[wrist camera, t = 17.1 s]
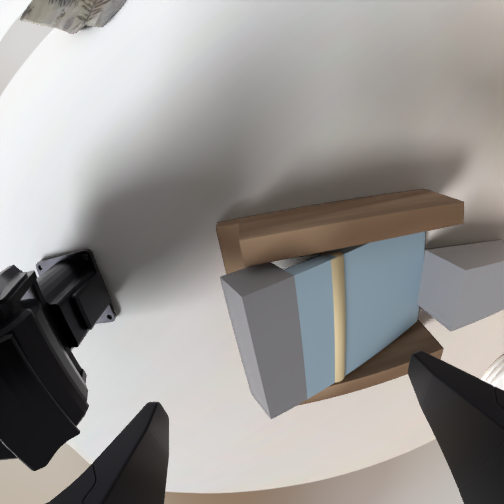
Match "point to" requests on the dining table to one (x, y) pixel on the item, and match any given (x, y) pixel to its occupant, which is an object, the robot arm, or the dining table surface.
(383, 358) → the hatch frame
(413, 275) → the trapdoor
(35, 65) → the dining table surface
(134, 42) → the dining table surface
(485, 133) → the dining table surface
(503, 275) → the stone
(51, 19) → the fossil rock
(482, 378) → the coaster
